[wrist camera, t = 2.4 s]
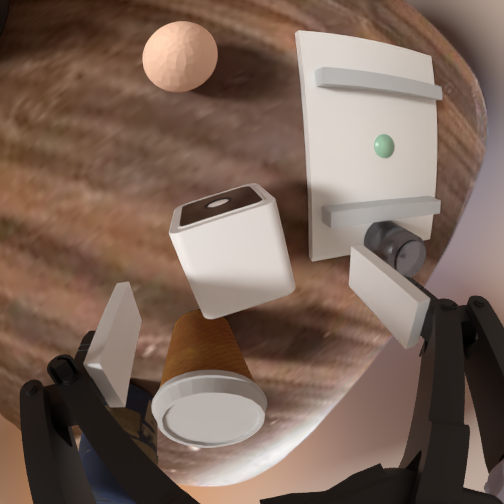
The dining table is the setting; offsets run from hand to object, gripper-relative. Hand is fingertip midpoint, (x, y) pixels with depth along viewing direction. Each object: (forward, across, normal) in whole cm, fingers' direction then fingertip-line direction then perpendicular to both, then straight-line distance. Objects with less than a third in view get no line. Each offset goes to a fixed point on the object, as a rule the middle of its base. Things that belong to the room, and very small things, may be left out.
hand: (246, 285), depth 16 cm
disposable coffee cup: (+11, -4, -12) cm, 17 cm away
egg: (+11, -2, +14) cm, 18 cm away
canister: (+11, -17, -22) cm, 30 cm away
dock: (+11, +16, +6) cm, 20 cm away
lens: (+10, +16, -3) cm, 19 cm away
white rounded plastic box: (+11, 0, 0) cm, 11 cm away
